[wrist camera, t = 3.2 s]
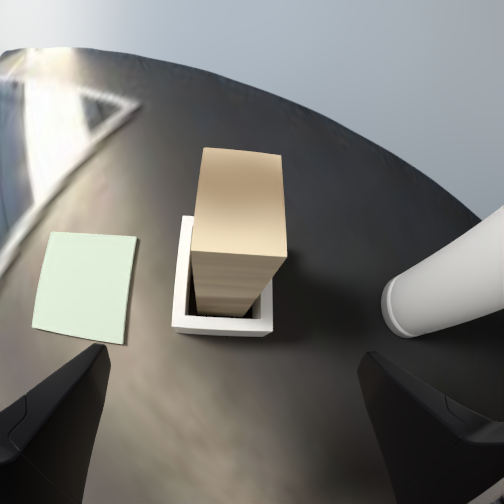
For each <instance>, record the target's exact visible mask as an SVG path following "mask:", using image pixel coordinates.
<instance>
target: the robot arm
mask: <svg viewBox="0 0 504 504" xmlns="http://www.w3.org/2000/svg"><path fill="white" fill-rule="evenodd" d="M110 369H111V362H110V358H109V354H108V350H107V347H106V345H104V344H99V343H94V344H92V345H91V346H89V347H88V348H87V349H85V350H84V351H82V352H81V353H80V354H78V355H77V356H76V357H74V358H73V359H72V360H70V361H69V362H67V363H66V364H65V365H63V366H62V367H61V368H59V369H58V370H57V371H55V372H54V373H53V374H51V375H50V376H49V377H47V378H46V379H45V380H43V381H42V382H41V383H39V384H38V385H37V386H35V387H34V388H33V389H31V390H30V391H29V392H27V393H26V395H23V396H22V397H21V398H19V399H18V400H17V401H15V402H14V403H13V404H11V405H10V406H8V407H7V408H5V409H4V410H2V411H1V412H0V504H82V500H83V494H84V488H85V483H86V477H87V472H88V468H89V463H90V458H91V454H92V450H93V445H94V441H95V437H96V433H97V429H98V426H99V422H100V418H101V415H102V411H103V407H104V402H105V396H106V390H107V385H108V379H109V374H110ZM357 374H358V378H359V382H360V386H361V390H362V394H363V398H364V403H365V406H366V409H367V412H368V415H369V418H370V421H371V424H372V426H373V429H374V432H375V435H376V438H377V441H378V444H379V447H380V450H381V453H382V456H383V459H384V462H385V465H386V468H387V472H388V475H389V478H390V481H391V485H392V488H393V491H394V494H395V498H396V502H397V504H504V422H495V421H492V420H490V419H488V418H486V417H484V416H482V415H480V414H478V413H476V412H474V411H472V410H470V409H468V408H466V407H464V406H462V405H460V404H458V403H457V402H455V401H453V400H452V399H450V398H449V397H447V396H444V394H442V393H440V392H439V391H437V390H436V389H434V388H432V387H431V386H429V385H428V384H426V383H424V382H423V381H421V380H420V379H418V378H417V377H415V376H413V375H412V374H410V373H409V372H407V371H405V370H404V369H402V368H401V367H399V366H398V365H396V364H394V363H393V362H391V361H390V360H388V359H387V358H385V357H384V356H382V355H380V354H379V353H377V352H375V351H373V352H366V353H365V354H364V355H363V358H362V360H361V362H360V364H359V366H358V370H357Z"/></svg>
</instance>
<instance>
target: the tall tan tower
mask: <svg viewBox="0 0 504 504" xmlns="http://www.w3.org/2000/svg"><path fill="white" fill-rule="evenodd" d="M286 258H287V243H286V224H285V207H284V192H283V177H282V164H281V155H274V154H266V153H258V152H249V151H240V150H229V149H218V148H204V150H203V156H202V163H201V170H200V177H199V184H198V191H197V199H196V207H195V215H194V224H193V233H192V242H191V259H192V269H193V278H194V287H195V295H196V304H197V311H198V315H212V316H232V317H243V316H244V315H245V313H246V312H247V311H248V309H249V308H250V307H251V305H252V304H253V303H254V301H255V300H256V299H257V297H258V296H259V295H260V293H261V292H262V291H263V289H264V288H265V287H266V285H267V284H268V283H269V281H270V280H271V279H272V277H273V276H274V274H275V273H276V272H277V270H278V269H279V268H280V266H281V265H282V264H283V262H284V261H285V259H286Z"/></svg>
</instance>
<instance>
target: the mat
mask: <svg viewBox="0 0 504 504" xmlns="http://www.w3.org/2000/svg"><path fill="white" fill-rule="evenodd" d="M136 242H137V237H132V236H116V235H100V234H83V233H67V232H51V235H50V238H49V242H48V246H47V250H46V253H45V257H44V262H43V266H42V270H41V275H40V280H39V285H38V290H37V295H36V301H35V308H34V314H33V322H32V327H33V328H37V329H42V330H46V331H50V332H55V333H60V334H64V335H69V336H74V337H80V338H85V339H91V340H97V341H103V342H109V343H116V344H124V331H125V320H126V310H127V302H128V293H129V286H130V278H131V272H132V265H133V259H134V253H135V247H136Z"/></svg>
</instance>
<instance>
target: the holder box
mask: <svg viewBox="0 0 504 504" xmlns="http://www.w3.org/2000/svg"><path fill="white" fill-rule="evenodd" d="M193 224H194V216H183V218H182V226H181V234H180V242H179V250H178V259H177V268H176V278H175V289H174V301H173V314H172V327H173V329H174V330H175V331H176V332H177V333H186V334H201V335H219V336H246V337H263V336H265V335H267V334H269V333H271V332H272V331H273V299H272V279H271V280H270V281H269V283H268V284H267V285H266V287H265V288H264V289H263V291H262V292H261V293H260V295H259V296H258V297H257V299H256V300H255V301H254V303H253V304H252V319H240V318H218V317H201V316H188V310H189V295H190V281H191V269H192V259H191V242H192V233H193Z"/></svg>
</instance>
